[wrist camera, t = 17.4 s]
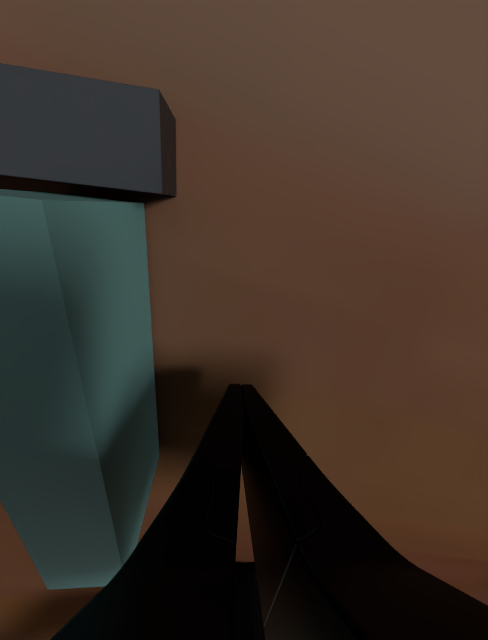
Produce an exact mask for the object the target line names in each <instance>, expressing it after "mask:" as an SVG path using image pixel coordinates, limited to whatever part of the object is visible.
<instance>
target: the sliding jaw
mask: <svg viewBox="0 0 488 640" xmlns="http://www.w3.org/2000/svg"><path fill="white" fill-rule="evenodd" d="M158 459H159V440H158V424H157V407H156V391H155V375H154V358H153V342H152V326H151V309H150V293H149V277H148V260H147V244H146V228H145V211H144V203H139V202H130V201H122V200H113V199H104V198H95V197H86V196H77V195H69V194H60V193H47V192H33V191H19V190H6V189H0V501H1V502H2V504H3V506H4V508H5V510H6V512H7V514H8V516H9V517H10V519H11V521H12V523H13V525H14V527H15V529H16V531H17V532H18V534H19V536H20V538H21V540H22V542H23V544H24V546H25V547H26V549H27V551H28V553H29V555H30V557H31V559H32V561H33V562H34V564H35V566H36V568H37V570H38V572H39V574H40V576H41V577H42V579H43V581H44V583H45V585H46V587H47V589H48V590H51V589H68V588H85V587H102V586H106V585H107V584H108V583H109V582H110V581H111V579H112V578H113V577H114V576H115V575H116V574H117V572H118V571H119V570H120V569H121V567H122V566H123V565H124V563H125V562H126V561H127V559H128V558H129V556H130V555H131V554H132V552H133V551H134V549H135V548H136V546H137V542H138V538H139V534H140V530H141V526H142V522H143V518H144V514H145V510H146V506H147V502H148V499H149V495H150V491H151V487H152V483H153V479H154V475H155V471H156V467H157V463H158Z"/></svg>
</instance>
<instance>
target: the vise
mask: <svg viewBox="0 0 488 640" xmlns="http://www.w3.org/2000/svg"><path fill="white" fill-rule="evenodd" d="M0 176H8V177H16V178H25V179H33V180H42V181H50V182H59V183H67V184H75V185H84V186H92V187H101V188H109V189H118V190H126V191H135V192H143V193H152V194H160V195H169V196H176V119H175V117H174V116H173V114H172V112H171V110H170V108H169V107H168V105H167V103H166V101H165V99H164V98H163V96H162V94H161V92H160V91H159V89H153V88H147V87H140V86H134V85H128V84H122V83H116V82H110V81H104V80H98V79H92V78H86V77H80V76H74V75H68V74H62V73H56V72H50V71H44V70H38V69H32V68H26V67H20V66H14V65H8V64H2V63H0Z"/></svg>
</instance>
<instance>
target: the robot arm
mask: <svg viewBox="0 0 488 640" xmlns="http://www.w3.org/2000/svg"><path fill="white" fill-rule="evenodd" d="M241 466H242V473H243V481H244V488H245V495H246V502H247V510H248V517H249V524H250V532H251V539H252V546H253V554H254V561H255V565H253V566H235V559H236V542H237V525H238V508H239V492H240V475H241ZM50 640H488V605H486V604H484V603H482V602H480V601H479V600H477V599H475V598H473V597H471V596H469V595H468V594H466V593H464V592H462V591H460V590H459V589H457V588H455V587H453V586H451V585H449V584H448V583H446V582H444V581H442V580H440V579H439V578H437V577H435V576H433V575H431V574H429V573H428V572H426V571H424V570H422V569H421V568H419V567H417V566H416V565H414V564H413V563H411V562H410V561H408V560H407V559H406V558H405V557H403V556H402V555H401V554H400V553H398V552H397V551H396V550H395V549H394V548H393V547H392V546H391V545H390V544H389V543H388V542H387V541H386V540H385V539H384V538H383V537H382V536H381V535H380V534H379V533H378V532H377V531H376V530H375V529H374V528H373V527H372V526H371V525H370V524H369V523H368V522H367V520H366V519H365V518H364V517H363V516H362V515H361V514H360V513H359V512H358V511H357V510H356V509H355V508H354V507H353V506H352V505H351V504H350V503H349V502H348V501H347V500H346V498H345V497H344V496H343V495H342V494H341V493H340V492H339V491H338V490H337V489H336V488H335V487H334V485H333V484H332V483H331V482H330V481H329V480H328V479H327V478H326V476H325V475H324V474H323V473H322V472H321V470H320V469H319V468H318V467H317V466H316V464H315V463H314V462H313V461H312V459H311V458H310V457H309V456H307V453H306V452H305V451H304V449H303V448H302V447H301V446H300V444H299V443H298V442H297V441H296V439H295V438H294V437H293V436H292V434H291V433H290V432H289V431H288V429H287V428H286V427H285V426H284V424H283V423H282V422H281V420H280V419H279V418H278V417H277V415H276V414H275V413H274V412H273V410H272V409H271V408H270V407H269V405H268V404H267V403H266V402H265V400H264V399H263V398H262V397H261V395H260V394H259V393H258V392H257V390H256V389H255V388H254V387H253V385H250V384H242V385H240V384H230V385H229V386H228V388H227V390H226V392H225V394H224V396H223V398H222V400H221V402H220V404H219V406H218V408H217V410H216V412H215V414H214V415H213V417H212V419H211V421H210V423H209V425H208V427H207V429H206V431H205V433H204V435H203V437H202V439H201V441H200V443H199V445H198V447H197V449H196V451H195V453H194V456H193V457H192V459H191V460H190V462H189V464H188V466H187V468H186V470H185V472H184V474H183V475H182V477H181V479H180V481H179V483H178V484H177V486H176V487H175V489H174V491H173V492H172V494H171V495H170V497H169V499H168V500H167V502H166V503H165V505H164V506H163V508H162V509H161V511H160V512H159V514H158V515H157V517H156V518H155V520H154V521H153V523H152V524H151V525H150V527H149V528H148V530H147V531H146V533H145V534H144V536H143V537H142V539H141V540H140V542H139V543H138V545H137V546H136V548H135V549H134V551H133V552H132V554H131V555H130V556H129V558H128V559H127V561H126V562H125V563H124V565H123V566H122V567H121V569H120V570H119V571H118V572H117V574H116V575H115V576H114V577H113V578H112V579H111V581H110V582H109V583H108V584H107V585H106V586H105V587H104V588H103V589H102V590H101V591H100V592H99V593H98V594H97V595H96V596H95V597H94V598H93V599H92V600H91V601H90V602H89V603H88V604H87V605H85V606H84V607H83V608H82V609H81V610H80V611H79V612H78V613H77V614H76V615H75V616H74V617H73V618H72V619H71V620H70V621H69V622H68V623H67V624H66V625H65V626H64V627H63V628H62V629H61V630H59V631H58V632H57V633H56V634H55V635H54V636H53V637H52V638H51V639H50Z"/></svg>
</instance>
